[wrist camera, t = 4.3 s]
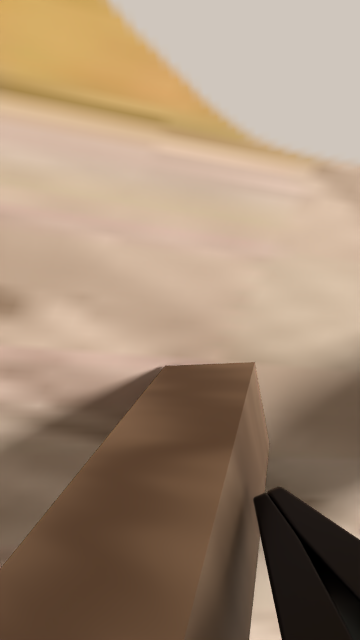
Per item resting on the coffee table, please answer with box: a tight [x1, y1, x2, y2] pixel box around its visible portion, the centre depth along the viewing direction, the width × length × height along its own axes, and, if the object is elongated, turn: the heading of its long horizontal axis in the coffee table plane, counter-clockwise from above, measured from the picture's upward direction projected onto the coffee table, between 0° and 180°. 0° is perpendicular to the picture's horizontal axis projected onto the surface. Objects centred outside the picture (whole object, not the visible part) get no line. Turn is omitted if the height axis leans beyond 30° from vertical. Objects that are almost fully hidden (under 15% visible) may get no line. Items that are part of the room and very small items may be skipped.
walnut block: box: [0, 362, 270, 640], centre depth 9 cm, size 4×4×9 cm
